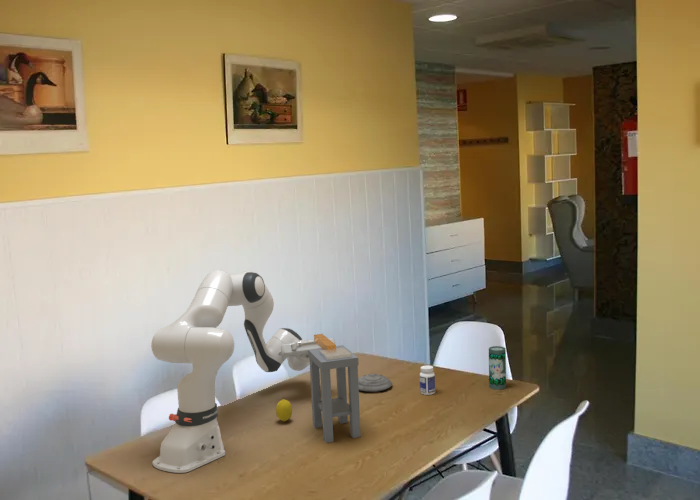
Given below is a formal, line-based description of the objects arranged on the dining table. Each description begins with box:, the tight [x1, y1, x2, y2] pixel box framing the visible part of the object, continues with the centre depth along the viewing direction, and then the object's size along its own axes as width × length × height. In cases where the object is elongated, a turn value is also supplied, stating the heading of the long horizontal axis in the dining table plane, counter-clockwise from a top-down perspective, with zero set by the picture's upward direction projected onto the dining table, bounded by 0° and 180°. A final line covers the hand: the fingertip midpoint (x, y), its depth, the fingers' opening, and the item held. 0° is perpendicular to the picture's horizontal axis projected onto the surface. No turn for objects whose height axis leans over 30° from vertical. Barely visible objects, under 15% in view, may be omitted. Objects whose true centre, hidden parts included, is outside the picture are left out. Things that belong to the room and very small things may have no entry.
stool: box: [308, 344, 361, 444], centre depth 215 cm, size 16×12×26 cm
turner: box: [313, 333, 351, 361], centre depth 218 cm, size 24×8×2 cm, turn 18°
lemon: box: [275, 398, 293, 423], centre depth 226 cm, size 6×6×8 cm
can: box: [488, 345, 507, 391], centre depth 252 cm, size 6×6×15 cm
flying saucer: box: [358, 373, 393, 393], centre depth 258 cm, size 15×15×6 cm
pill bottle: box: [419, 364, 436, 396], centre depth 249 cm, size 6×6×10 cm
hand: (311, 342), depth 239 cm, fingers open, 8 cm apart
